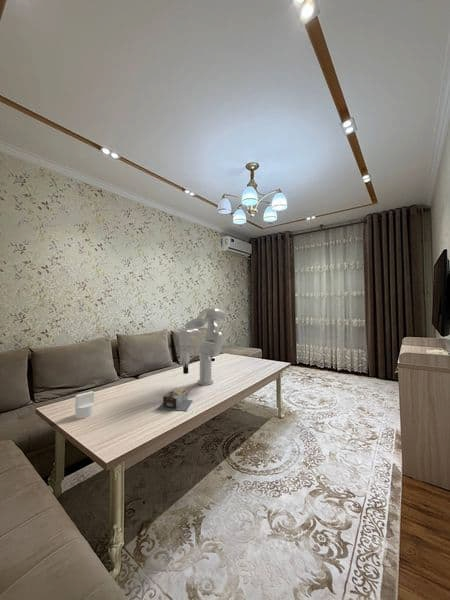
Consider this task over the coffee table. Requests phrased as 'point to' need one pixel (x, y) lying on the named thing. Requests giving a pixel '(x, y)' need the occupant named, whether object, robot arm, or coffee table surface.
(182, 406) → the mat
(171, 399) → the coffee box
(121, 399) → the coffee table surface
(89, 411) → the translucent cup
